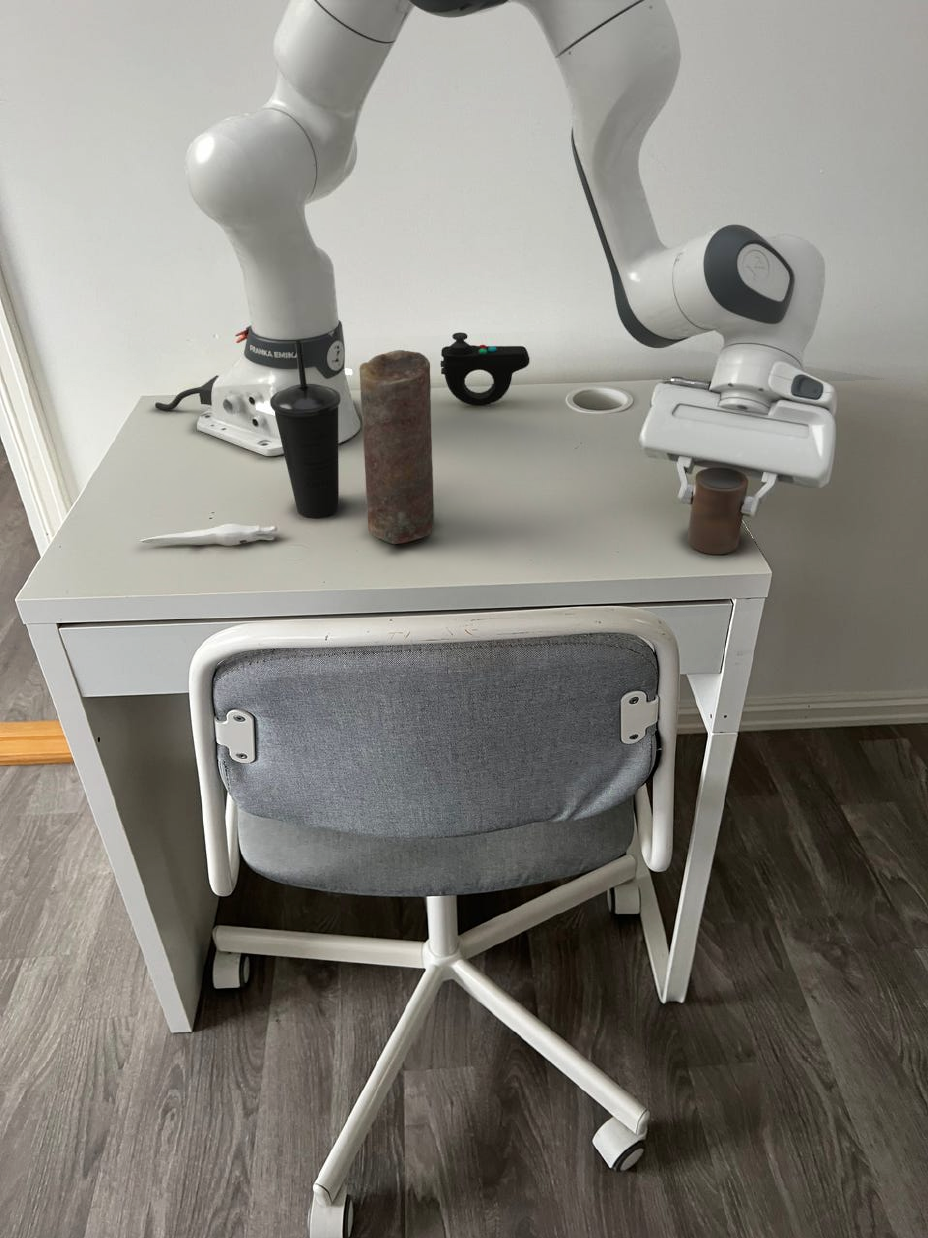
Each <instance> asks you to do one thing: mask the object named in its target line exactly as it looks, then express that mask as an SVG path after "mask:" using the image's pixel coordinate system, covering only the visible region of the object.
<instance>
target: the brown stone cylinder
mask: <svg viewBox="0 0 928 1238" xmlns="http://www.w3.org/2000/svg"><path fill="white" fill-rule="evenodd" d="M358 369H359V387H360V406H361V420H362V421H361V422H362V423H361V424H362V440H363V455H364V471H365V495H366V497H365V498H366V513H367V515H366V517H367V529H368V532H369V534H370V535H372V536H375V537H376V538H378V539H380V540H382V541H384V542H387V543H389V544H390V545H397V544H405V543H408V542H410V541H415V540H419V539H422V538H425V537H426V536H427V537H428V535H429V534H431V532H432V531H433V528H434V526H435V503H434V502H435V499H434V497H435V496H434V476H433V475H434V471H433V470H434V468H433V443H432V441H433V440H432V439H433V438H432V399H431V398H432V397H431V394H432V393H431V392H432V391H431V389H432V387H431V386H432V385H431V363H430V360H429V359H428V357H426V355H424V354H422V353H421V352H418V351H411V350H404V349H398V350H391V351H388V352H386V353H380V354H378V355H376V356H373V357H372V358H371V359H370V360H369V361H368V362H367V361H366V362H363V363H361V365H359V368H358Z"/></svg>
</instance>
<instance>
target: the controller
mask: <svg viewBox="0 0 928 1238" xmlns="http://www.w3.org/2000/svg"><path fill="white" fill-rule="evenodd" d="M452 339H453V340H455V341H454V342H453V343H452V344H450V345H445V346H444V347H442V348H441V351H440V355H441V357H442V360H440V363H439V364H440V365H439V367H440V368H441V369H440V374H441V375H444V379H445V383H446V385H447V387H448V389H449V391H450V392H451V394H452V395H453V396H454V397H455V398H456V399H457V400H459V401H460V402H462V403H463V404H466V405H469V406H473V407H483V406H488V405H491V404H494V403H496V402H498V401H499V400H501V399H502V398H503V397H504V396H505V395H506V394H507V392H508V390H509V388H510V386H511V384H512V379H513V374H514V373H516V372H518V371H521V370H523V369H526V368H527V367H528V366H529V365H530V361H531V359H530V355H529V352H528V349H527V348H526V347H525V346H523V345H486V344H480V345H473V344H472V345H471V344H469V343H467V342H466V341H465V340H467V339H468V334H467V333H465V332H455V333H453V334H452ZM474 371H475V372H476V371H484V372H486V373H488V374H489V375H490V376H491V379H492V380H493V381H492V384H491V386H490V387H489V388H488V389H487V390H485V391H481V392H476V391H473V390H471V389H470V388H468V386H467V385H466V378H467V376H468V375H469V374H470V373H472V372H474Z"/></svg>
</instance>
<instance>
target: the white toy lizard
mask: <svg viewBox="0 0 928 1238" xmlns="http://www.w3.org/2000/svg"><path fill="white" fill-rule="evenodd" d="M277 530H278V527H277V526H276V525H273V526H272V525H271V526H262V525H244V524H238V523H225V524H221V525H217V526H215V527H210V528H205V529H199V530H198V529H197V530H192V531H184V532H177V533H170V534H169V533H168V534H163V535H157V536H152V537H147V538H143V539H141V540H139V542H141V543H144V544H151V545H189V546H190V545H191V546H192V545H193V546H202V545H213V544H217V545H221V546H225V547H232V546H237V545H242V544H245V543H250V542H251V543H252V542H256V541H259V540H260V541H261V540H263V541H264V540H265V541H274V540H275V538H274V537H273V536H272V535H269V534H272V533H275V532H277Z"/></svg>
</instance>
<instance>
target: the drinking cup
mask: <svg viewBox="0 0 928 1238" xmlns="http://www.w3.org/2000/svg"><path fill="white" fill-rule="evenodd" d="M295 345H296V353H297V361H298V370H299V378H300V384H299V385H294V386H291V387H289V388H286V389H284V390H282V391H279V392H277V393H276V394H274V395H273V396H272V397H271V399H270V406H271V408H272V410H273V411H274V413H275V417H276V422H277V426H278V430H279V434H280V439H281V443H282V447H283V451H284V454H283V456H284V459H285V460H284V461H285V463H286V469H287V472H288V477H289V481H290V485H291V489H292V494H293V497H294V501H295V506H296V510H297V513H298V514H299V515H300V516H302V517H303V518H307V519H322V518H326V517H330V516H332V515H334V514H335V513H337V512H338V510H339V506H340V505H339V503H340V501H339V500H340V499H339V498H340V497H339V491H340V489H339V486H340V485H339V481H340V479H339V478H340V477H339V476H340V475H339V473H340V472H339V469H340V468H339V463H340V461H339V444H338V405H339V404H340V401H341V398H340V394H339V393H338V392H337V391H336V390H334V389H332V388H329V387H326V386H321V385H317V384H307V383H306V375H305V366H304V358H303V349H302V341H301V340H296V341H295Z"/></svg>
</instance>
